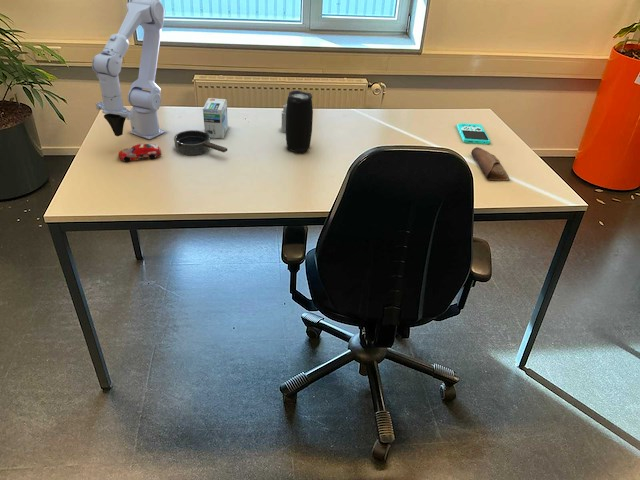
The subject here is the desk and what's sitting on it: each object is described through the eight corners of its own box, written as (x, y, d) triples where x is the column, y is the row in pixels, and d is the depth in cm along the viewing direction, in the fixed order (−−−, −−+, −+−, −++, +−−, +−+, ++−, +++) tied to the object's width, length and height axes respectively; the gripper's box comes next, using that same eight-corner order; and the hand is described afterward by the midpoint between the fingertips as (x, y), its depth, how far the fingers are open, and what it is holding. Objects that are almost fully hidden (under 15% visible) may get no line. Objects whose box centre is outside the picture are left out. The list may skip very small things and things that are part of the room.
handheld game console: (481, 127, 207) (482, 123, 206) (490, 144, 194) (491, 141, 193) (455, 125, 207) (456, 122, 206) (463, 142, 194) (464, 139, 193)
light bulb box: (223, 139, 185) (221, 109, 178) (204, 137, 185) (202, 108, 178) (228, 126, 193) (227, 98, 187) (210, 125, 193) (208, 97, 187)
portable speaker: (315, 147, 184) (318, 92, 172) (302, 157, 177) (304, 101, 165) (293, 141, 186) (295, 87, 175) (280, 151, 180) (281, 95, 168)
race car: (119, 163, 166) (117, 152, 164) (118, 155, 170) (116, 144, 168) (162, 159, 170) (160, 147, 168) (160, 151, 174) (158, 140, 172)
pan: (168, 149, 175) (166, 138, 173) (191, 138, 184) (190, 127, 182) (194, 159, 171) (193, 148, 169) (217, 146, 179) (216, 136, 177)
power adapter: (296, 132, 193) (297, 101, 186) (281, 132, 192) (281, 100, 185) (296, 129, 195) (297, 98, 188) (281, 128, 195) (282, 97, 188)
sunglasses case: (511, 179, 171) (506, 163, 167) (491, 188, 172) (485, 173, 169) (493, 154, 186) (487, 139, 182) (474, 163, 187) (468, 148, 183)
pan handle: (203, 145, 173) (203, 143, 172) (207, 143, 174) (207, 141, 174) (224, 152, 170) (223, 150, 169) (227, 150, 171) (227, 148, 170)
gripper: (84, 92, 162) (93, 133, 170) (118, 103, 157) (125, 145, 164) (103, 86, 167) (110, 126, 175) (136, 96, 162) (142, 137, 169)
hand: (118, 134), depth 170 cm, fingers closed
